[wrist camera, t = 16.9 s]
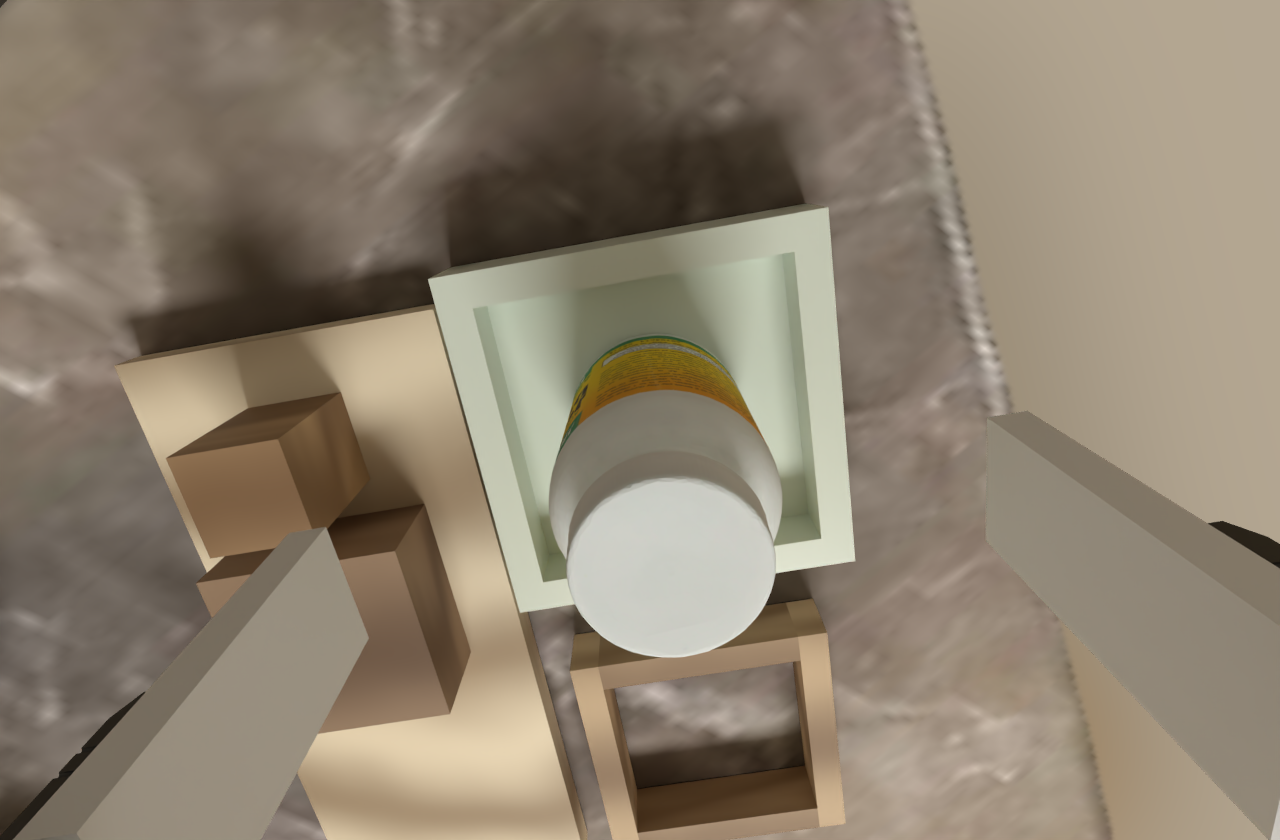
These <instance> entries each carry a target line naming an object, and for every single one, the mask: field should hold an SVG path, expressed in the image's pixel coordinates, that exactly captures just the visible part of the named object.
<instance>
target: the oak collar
mask: <svg viewBox="0 0 1280 840" xmlns="http://www.w3.org/2000/svg"><path fill="white" fill-rule="evenodd" d="M787 662H793V668H794V677H795V685H796V694H797V702H798V710H799V719H800V727H801V736H802V744H803V753H804V761H805V766H799V767H792V768H785V769H778V770H771V771H764V772H757V773H750V774H743V775H736V776H729V777H721V778H714V779H707V780H700V781H693V782H686V783H679V784H672V785H665V786H658V787H651V788H643V789H637V787H636V782H635V778H634V774H633V769H632V765H631V761H630V756H629V752H628V748H627V743H626V739H625V735H624V731H623V726H622V722H621V718H620V713H619V709H618V705H617V700H616V696H615V692H614V688H619V687H626V686H632V685H639V684H646V683H653V682H659V681H666V680H673V679H680V678H686V677H693V676H700V675H707V674H713V673H720V672H727V671H734V670H740V669H747V668H754V667H760V666H767V665H774V664H781V663H787ZM570 674H571V678H572V681H573V685H574V689H575V693H576V697H577V701H578V705H579V709H580V713H581V717H582V721H583V725H584V728H585V732H586V736H587V740H588V744H589V748H590V752H591V756H592V760H593V764H594V768H595V771H596V775H597V779H598V783H599V787H600V791H601V795H602V799H603V803H604V807H605V811H606V815H607V818H608V822H609V826H610V830H611V834H612V838H613V840H730V839H737V838H745V837H752V836H759V835H767V834H774V833H781V832H788V831H796V830H803V829H810V828H818V827H825V826H832V825H840V824H845V814H844V803H843V793H842V782H841V772H840V762H839V751H838V741H837V730H836V720H835V709H834V699H833V689H832V678H831V668H830V657H829V647H828V636H827V631H826V629H825V626H824V624H823V622H822V619H821V617H820V615H819V612H818V610H817V608H816V605H815V603H814V601H813V599H806V600H800V601H793V602H787V603H780V604H774V605H767V606H764V607H763V609H762V611H761V612H760V614H759V615H758V616H757V618H756V619H755V620H754V621H753V622H752V623H751V624H750V625H749V626H748V627H747V628H746V629H745V630H744V631H743V632H742V633H741V634H739V635H738V636H736V637H735V638H734V639H732V640H730V641H729V642H727V643H725V644H723V645H721V646H719V647H717V648H715V649H712V650H710V651H708V652H704V653H700V654H696V655H691V656H686V657H675V658H671V657H654V656H647V655H642V654H638V653H634V652H631V651H628V650H626V649H623V648H621V647H619V646H616V645H615V644H613V643H611V642H610V641H608V640H607V639H605V638H603V637H602V636H601V635H600V634H599V633H598V632H590V633H584V634H577V635H574V642H573V650H572V658H571V666H570Z"/></svg>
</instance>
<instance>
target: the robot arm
mask: <svg viewBox="0 0 1280 840" xmlns="http://www.w3.org/2000/svg"><path fill="white" fill-rule="evenodd" d="M5 2H6V0H0V7H1V6H2V5H3V4H4V3H5ZM986 542H987V543H988V544H989V545H990V546H991V547H992V548H993V549H994V550H995V551H996V552H997V553H998V554H999V555H1000V556H1001V557H1002V558H1003V559H1004V561H1005V562H1006V563H1007V564H1008V565H1009V566H1010V567H1011V568H1012V569H1013V570H1014V571H1015V572H1016V573H1017V574H1018V575H1019V576H1020V577H1021V579H1022V580H1023V581H1024V582H1025V583H1026V584H1027V585H1028V586H1029V587H1030V588H1031V589H1032V590H1033V591H1034V592H1035V593H1036V594H1037V595H1038V597H1039V598H1040V599H1041V600H1042V601H1043V602H1044V603H1045V604H1046V605H1047V606H1048V607H1049V608H1050V609H1051V610H1052V611H1053V612H1054V613H1055V614H1056V616H1057V617H1058V618H1059V619H1060V620H1061V621H1062V622H1063V623H1064V624H1065V625H1066V626H1067V627H1068V628H1069V629H1070V630H1071V631H1072V632H1073V634H1074V635H1075V636H1076V637H1077V638H1078V639H1079V640H1080V641H1081V642H1082V643H1083V644H1084V645H1085V646H1086V647H1087V648H1088V649H1089V650H1090V651H1091V653H1092V654H1093V655H1095V657H1096V658H1097V659H1098V660H1099V661H1100V662H1101V663H1102V664H1103V665H1104V666H1105V667H1106V668H1107V669H1108V670H1109V671H1110V673H1111V674H1112V675H1113V676H1114V677H1115V678H1116V679H1117V680H1118V681H1119V682H1120V683H1121V684H1122V685H1123V686H1124V687H1125V689H1126V690H1127V691H1128V692H1129V693H1130V694H1131V695H1132V696H1133V697H1134V698H1135V699H1136V700H1137V701H1138V702H1139V703H1140V704H1141V705H1142V706H1143V707H1144V709H1145V710H1146V711H1147V712H1148V713H1149V714H1150V715H1151V716H1152V717H1153V718H1154V719H1155V720H1156V721H1157V722H1158V723H1159V724H1160V726H1162V728H1163V729H1164V730H1165V731H1166V732H1167V733H1168V734H1169V735H1170V736H1171V737H1172V738H1173V739H1174V740H1175V741H1176V742H1177V743H1178V745H1179V746H1180V747H1181V748H1182V749H1183V750H1184V751H1185V752H1186V753H1187V754H1188V755H1189V756H1190V757H1191V758H1192V759H1193V760H1194V761H1195V763H1196V764H1198V766H1199V767H1200V768H1201V769H1202V770H1203V771H1204V772H1205V773H1206V774H1207V775H1208V776H1209V777H1210V778H1211V779H1212V781H1213V782H1214V783H1215V784H1216V785H1217V786H1218V787H1219V788H1220V789H1221V790H1222V791H1223V792H1224V793H1225V794H1226V795H1227V796H1228V797H1229V799H1230V800H1231V801H1232V802H1233V803H1234V804H1235V805H1236V806H1237V807H1238V808H1239V809H1240V810H1241V811H1242V812H1243V813H1244V814H1245V815H1246V816H1247V818H1248V819H1249V820H1250V821H1251V822H1252V823H1253V824H1254V825H1255V826H1256V827H1257V828H1258V829H1259V830H1260V831H1261V832H1262V833H1263V834H1264V835H1265V837H1266V838H1268V840H1280V544H1279V543H1277V542H1275V541H1274V540H1272V539H1270V538H1268V537H1266V536H1263V535H1260V534H1258V533H1255V532H1252V531H1249V530H1246V529H1244V528H1241V527H1238V526H1235V525H1232V524H1229V523H1227V522H1224V521H1220V522H1213V523H1206V522H1204V521H1203V520H1201V519H1200V518H1198V517H1196V516H1195V515H1193V514H1192V513H1190V512H1188V511H1187V510H1185V509H1184V508H1182V507H1180V506H1179V505H1177V504H1175V503H1174V502H1172V501H1171V500H1169V499H1168V498H1166V497H1164V496H1163V495H1161V494H1159V493H1158V492H1156V491H1155V490H1153V489H1151V488H1150V487H1148V486H1147V485H1145V484H1143V483H1142V482H1140V481H1139V480H1137V479H1136V478H1134V477H1132V476H1131V475H1129V474H1128V473H1126V472H1124V471H1123V470H1121V469H1120V468H1118V467H1116V466H1115V465H1113V464H1112V463H1110V462H1108V461H1107V460H1105V459H1104V458H1102V457H1100V456H1099V455H1097V454H1096V453H1094V452H1092V451H1091V450H1089V449H1088V448H1086V447H1084V446H1083V445H1081V444H1079V443H1078V442H1076V441H1075V440H1073V439H1071V438H1070V437H1068V436H1067V435H1065V434H1063V433H1062V432H1060V431H1059V430H1057V429H1056V428H1054V427H1052V426H1051V425H1049V424H1048V423H1046V422H1044V421H1043V420H1041V419H1040V418H1038V417H1036V416H1035V415H1033V414H1032V413H1030V412H1028V411H1024V412H1018V413H1012V414H1006V415H1000V416H994V417H987V476H986ZM368 639H369V637H368V634H367V632H366V629H365V627H364V624H363V621H362V619H361V616H360V614H359V611H358V608H357V606H356V603H355V601H354V598H353V595H352V593H351V590H350V588H349V585H348V583H347V580H346V577H345V575H344V572H343V570H342V567H341V564H340V562H339V559H338V557H337V554H336V551H335V549H334V546H333V544H332V541H331V539H330V536H329V533H328V531H327V528H326V527H322V528H316V529H310V530H304V531H298V532H292V533H289V534H288V535H287V536H286V537H285V538H284V539H283V540H282V541H281V542H280V544H279V545H278V546H277V547H276V548H275V549H274V550H273V551H272V552H271V554H270V555H269V556H268V557H267V558H266V559H265V560H264V561H263V562H262V564H261V565H260V566H259V567H258V568H257V569H256V570H255V571H254V572H253V574H252V575H251V576H250V577H249V578H248V579H247V580H246V581H245V582H244V584H243V585H242V586H241V587H240V588H239V589H238V590H237V591H236V592H235V594H234V595H233V596H232V597H231V598H230V599H229V600H228V601H227V602H226V604H225V605H224V606H223V607H222V608H221V609H220V610H219V611H218V612H217V614H216V615H215V616H214V617H213V618H212V619H211V620H210V621H209V622H208V624H207V625H206V626H205V627H204V628H203V629H202V630H201V631H200V632H199V634H198V635H197V636H196V637H195V638H194V639H193V640H192V641H191V642H190V644H189V645H188V646H187V647H186V648H185V649H184V650H183V651H182V652H181V654H180V655H179V656H178V657H177V658H176V659H175V660H174V661H173V662H172V664H171V665H170V666H169V667H168V668H167V669H166V670H165V671H164V672H163V674H162V675H161V676H160V677H159V678H158V679H157V680H156V681H155V682H154V684H153V685H152V686H151V687H150V688H149V689H148V690H147V691H146V692H143V693H142V694H141V695H139V696H138V697H137V698H136V699H134V700H133V701H132V702H130V703H129V704H128V705H126V706H125V707H124V708H122V709H121V710H120V711H118V712H117V713H116V714H114V715H113V716H112V717H110V718H109V719H108V720H107V721H106V722H105V723H104V724H103V725H102V727H101V728H100V729H99V730H98V731H97V732H96V733H95V734H94V735H93V736H92V737H91V738H90V739H89V741H88V742H87V743H86V744H85V745H84V746H83V747H82V752H81V753H79V754H76V755H75V756H74V757H73V758H72V759H71V760H70V761H69V762H68V763H67V764H66V765H65V767H64V768H63V769H62V770H61V771H60V772H59V777H58V778H55V779H53V780H52V781H51V782H50V783H49V784H48V785H47V786H46V787H45V788H44V789H43V790H42V791H41V793H40V794H39V795H38V796H37V797H36V798H35V799H34V800H33V801H32V802H31V803H30V804H29V806H28V807H27V808H26V809H25V810H24V811H23V812H22V813H21V814H20V815H19V816H18V817H17V819H16V820H15V821H14V822H13V823H12V824H11V825H10V826H9V827H8V828H7V829H6V830H5V832H4V833H3V834H2V835H1V836H0V840H261V839H262V837H263V835H264V833H265V831H266V829H267V827H268V826H269V824H270V822H271V820H272V818H273V816H274V814H275V812H276V811H277V809H278V807H279V805H280V803H281V801H282V799H283V798H284V796H285V794H286V792H287V790H288V788H289V786H290V784H291V783H292V781H293V779H294V777H295V775H296V773H297V771H298V770H299V768H300V766H301V764H302V762H303V760H304V758H305V756H306V755H307V753H308V751H309V749H310V747H311V745H312V743H313V742H314V740H315V738H316V736H317V734H318V732H319V730H320V728H321V727H322V725H323V723H324V721H325V719H326V717H327V715H328V714H329V712H330V710H331V708H332V706H333V704H334V702H335V700H336V699H337V697H338V695H339V693H340V691H341V689H342V687H343V686H344V684H345V682H346V680H347V678H348V676H349V674H350V672H351V671H352V669H353V667H354V665H355V663H356V661H357V659H358V658H359V656H360V654H361V652H362V650H363V648H364V646H365V644H366V643H367V641H368Z"/></svg>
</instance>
